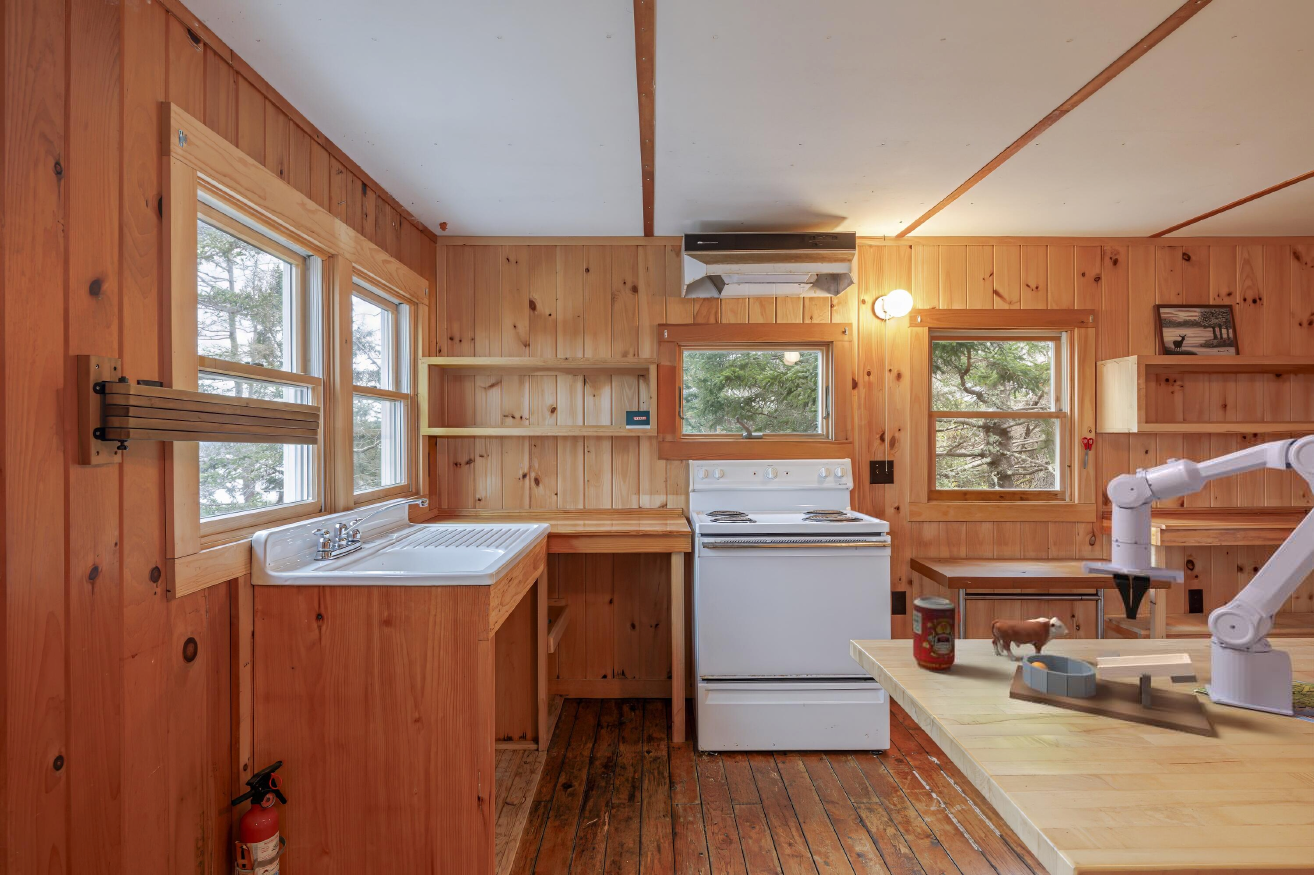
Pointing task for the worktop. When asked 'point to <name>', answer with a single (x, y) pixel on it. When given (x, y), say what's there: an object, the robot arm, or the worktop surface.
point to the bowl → (1060, 675)
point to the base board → (1126, 703)
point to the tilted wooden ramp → (1146, 666)
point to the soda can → (934, 633)
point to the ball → (1040, 665)
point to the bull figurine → (1025, 633)
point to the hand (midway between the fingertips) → (1131, 618)
